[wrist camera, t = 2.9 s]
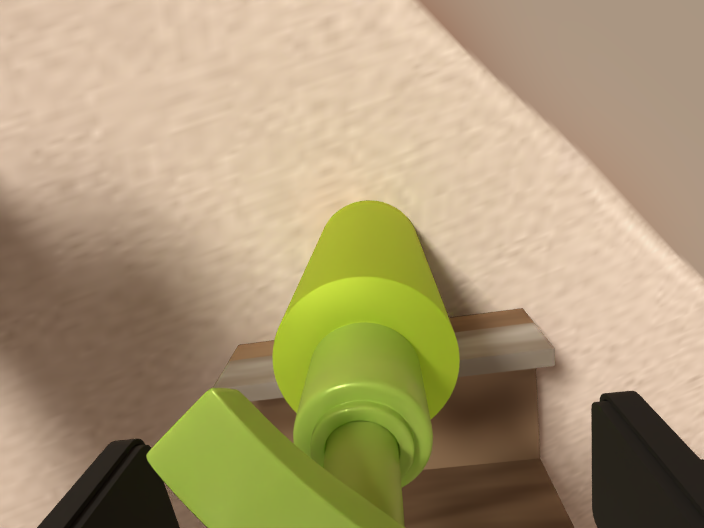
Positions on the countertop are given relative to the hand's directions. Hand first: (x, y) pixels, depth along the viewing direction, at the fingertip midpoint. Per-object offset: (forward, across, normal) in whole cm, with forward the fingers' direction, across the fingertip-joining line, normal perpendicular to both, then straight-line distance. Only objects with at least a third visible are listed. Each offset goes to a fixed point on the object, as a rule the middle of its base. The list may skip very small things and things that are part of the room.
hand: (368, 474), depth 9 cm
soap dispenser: (+18, +1, 0) cm, 18 cm away
